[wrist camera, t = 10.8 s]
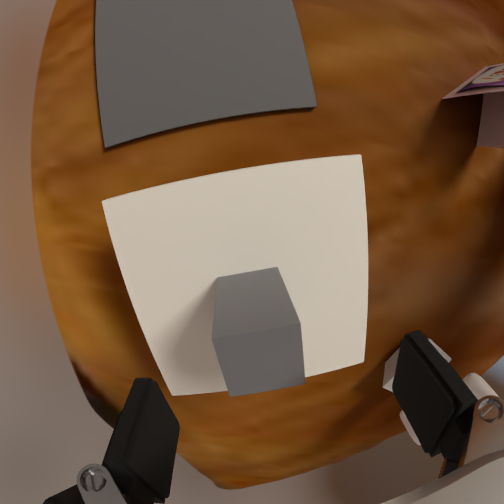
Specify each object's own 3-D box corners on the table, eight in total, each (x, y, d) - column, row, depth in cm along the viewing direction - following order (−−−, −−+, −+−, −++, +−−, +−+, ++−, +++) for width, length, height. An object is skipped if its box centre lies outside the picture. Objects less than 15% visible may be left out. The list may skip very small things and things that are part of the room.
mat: (276, -42, 14) (277, -45, 14) (315, 107, 20) (316, 106, 19) (98, -6, 14) (96, -8, 14) (107, 147, 20) (104, 147, 19)
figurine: (363, 373, 29) (416, 473, 15) (419, 313, 27) (500, 398, 13) (393, 388, 31) (442, 471, 17) (442, 336, 29) (509, 409, 15)
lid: (354, 154, 15) (424, 157, 9) (359, 354, 20) (395, 416, 14) (108, 198, 15) (41, 225, 9) (173, 387, 20) (161, 457, 13)
